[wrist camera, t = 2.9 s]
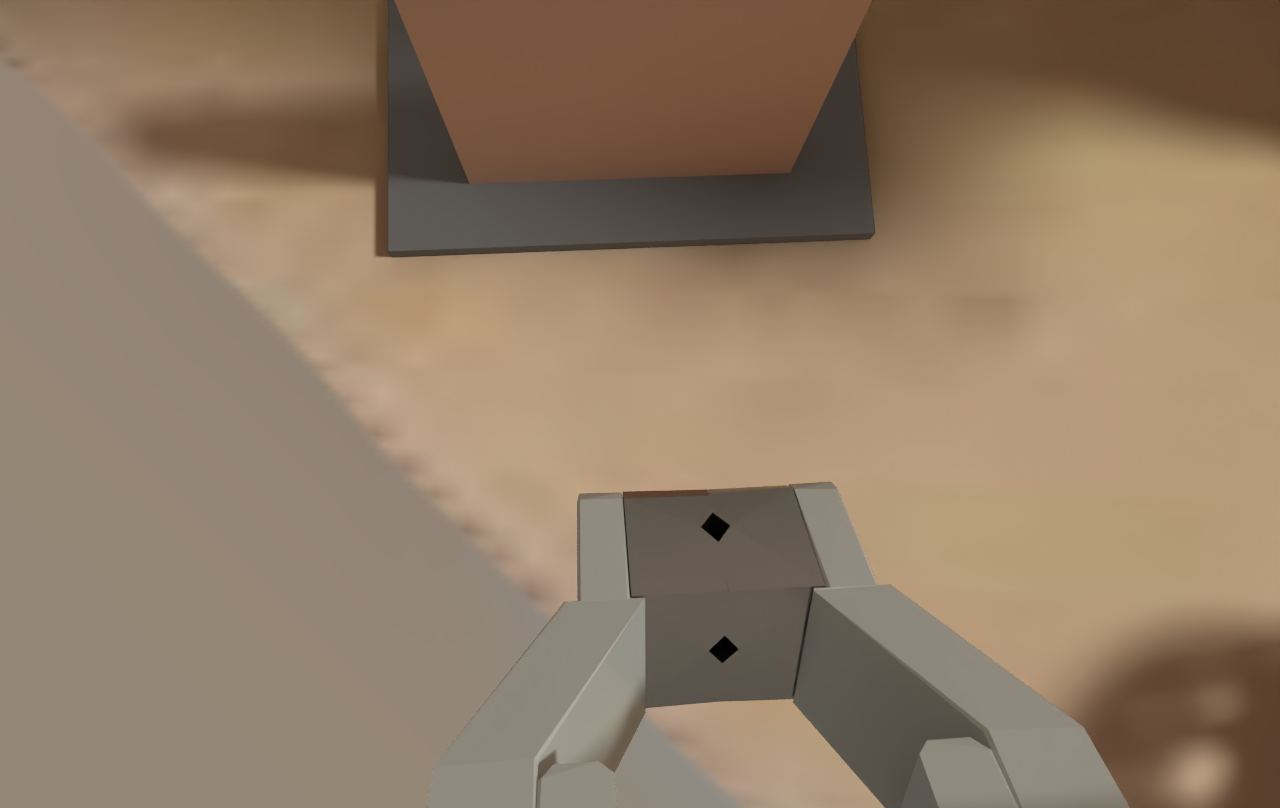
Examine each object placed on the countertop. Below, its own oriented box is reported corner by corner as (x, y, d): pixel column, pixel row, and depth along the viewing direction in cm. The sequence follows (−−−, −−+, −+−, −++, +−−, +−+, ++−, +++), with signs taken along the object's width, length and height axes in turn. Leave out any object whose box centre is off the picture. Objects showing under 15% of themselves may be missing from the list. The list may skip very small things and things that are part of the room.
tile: (785, 123, 30) (893, -139, 19) (789, 173, 30) (902, -63, 18) (469, 133, 30) (373, -130, 18) (469, 184, 30) (373, -51, 18)
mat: (823, -213, 34) (827, -226, 33) (870, 238, 30) (875, 233, 30) (392, -205, 33) (388, -219, 32) (392, 257, 30) (388, 251, 29)
